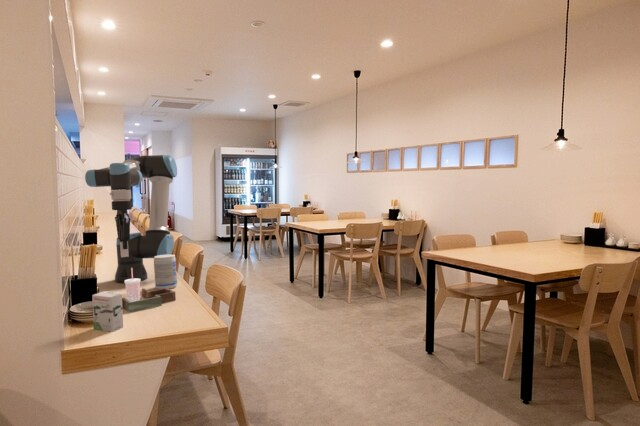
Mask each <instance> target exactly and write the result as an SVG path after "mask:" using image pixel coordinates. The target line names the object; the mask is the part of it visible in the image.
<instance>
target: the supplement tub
mask: <svg viewBox="0 0 640 426" xmlns="http://www.w3.org/2000/svg"><path fill="white" fill-rule="evenodd" d="M153 269H154V283H155V284H154V285H155V289H156V290H159V289H165V288H168V289H170V290H171V289H174V288H176V287H177V286H178V279H177V278H178V276H177V275H178V273H177V259H176V254H172V253H171V254H167V255H158V256H155V257H154V258H153Z"/></svg>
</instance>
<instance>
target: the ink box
mask: <svg viewBox="0 0 640 426" xmlns="http://www.w3.org/2000/svg"><path fill="white" fill-rule="evenodd" d="M122 298H123V293H121V292H116V291H115V292H114V291H107V290H104V291H100V292H98V293H94V294H92V319H93V330H95V331H96V330H97V331H101V332H102V331H104V332H110V333H113V332H116V331H118V330H120V329H123V328H124V316H123V315H124V314H123V312H124V311H123V307H122Z"/></svg>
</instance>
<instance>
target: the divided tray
mask: <svg viewBox="0 0 640 426" xmlns="http://www.w3.org/2000/svg"><path fill="white" fill-rule="evenodd" d="M141 297H142V298H143V299H140V300H138V301H133V302H130V301H129V300H127V298H126V297H123V296H122V309H124V310H126V311H127V312H129V313H132V312H133V313H134V312H138V311H143V310H147V309H151V308H156V307H157V308H158V307H161V306H162V304H164V303H165V304H166V303H169V302H174V301H177V300H176V299H177V298H176V291H174V290H172V289H171V288H170V289H168V288H165V289H154V290H148V289H146V288H141Z"/></svg>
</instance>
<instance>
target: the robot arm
mask: <svg viewBox="0 0 640 426" xmlns="http://www.w3.org/2000/svg"><path fill="white" fill-rule="evenodd" d="M84 175H85V176H84V179H85V184H86V185H87V186H88V187H91V188H102V187H103V188H104V187H105V188H106V187H110V192H109V195H110V196H111V200H112V201H111V209H112V211H116V214H115V216H114V220H115V226H116V232H117V237H116V245H115V246H116V255H117V256H116V257H117V258H116V259H117V267H116V271H115V274H114V282H116V283H123V284H125V282H124V281H125V280H127V279H132V273H131V268H133V278H139V279H141V281H145V280H147V279H148V277H149V276H148V272H147V270H146V267H145V265H144V259H154V257H155V256H158V255H167V254H172V252H173V249H174V246H175V240H174V236H173V235H172V234H171V231H170V230H169V229H168V218H169V217H168V216H169V199H170V198H169V197H170V184H171V183H173V181H174V178H176V177H177V175H178V165H177V163H176V160H175V159H174V157H173V156H172V155H169V154H168V155H167V154H157V155H154V154H153V155H152V154H151V155H140V156H136V157H135V156H134V157H132V158H129V159H126V160H124V161H122V162H111V163H110V164H109V166H108V167H104V168H100V169H95V168H94V169H88V170H87V171H86V172H85V174H84ZM143 179H148V181H150V183H151V193H150V205H149V206H150V208H149V210H150V211H149V225H148V228H147V229H146V230H145V235H143V234H142V232H139V231H138V232H133V233H131V232H130V231H131V220H132V218H131V216H130V215H129V213H128V210H129V211H130V210H132V209H133V205H132V203H133V202H132V188H131V187H136V186H139V185H140V184H141V183H142V182H143ZM129 216H130V217H129Z"/></svg>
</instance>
